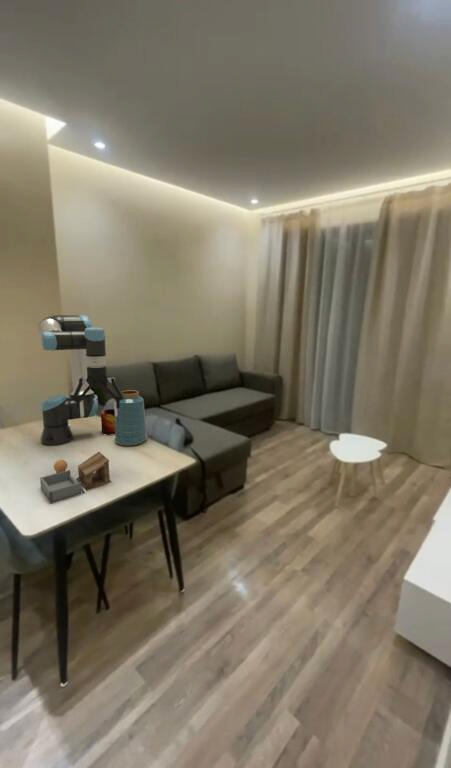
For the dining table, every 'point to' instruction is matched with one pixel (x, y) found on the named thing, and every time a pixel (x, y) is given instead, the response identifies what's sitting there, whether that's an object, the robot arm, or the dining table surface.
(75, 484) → the bin
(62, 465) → the ball
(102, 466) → the wooden cubby
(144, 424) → the vase
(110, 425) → the mug
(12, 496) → the dining table surface
